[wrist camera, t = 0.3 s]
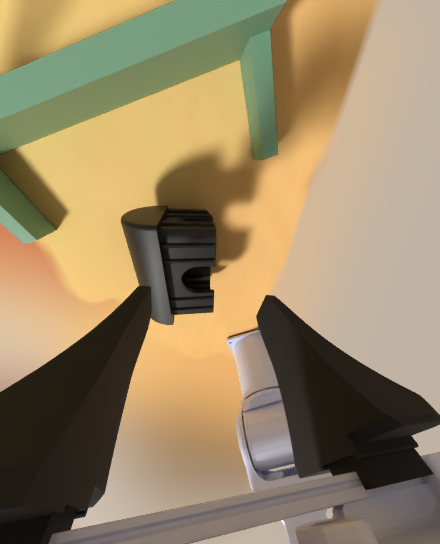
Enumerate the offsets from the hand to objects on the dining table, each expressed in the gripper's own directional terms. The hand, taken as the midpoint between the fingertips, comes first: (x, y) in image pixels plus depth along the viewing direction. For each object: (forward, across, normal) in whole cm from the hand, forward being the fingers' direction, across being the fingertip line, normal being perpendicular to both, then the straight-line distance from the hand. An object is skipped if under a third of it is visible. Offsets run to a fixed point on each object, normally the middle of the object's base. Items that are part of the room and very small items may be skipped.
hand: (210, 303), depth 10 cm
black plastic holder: (+10, +3, +2) cm, 11 cm away
